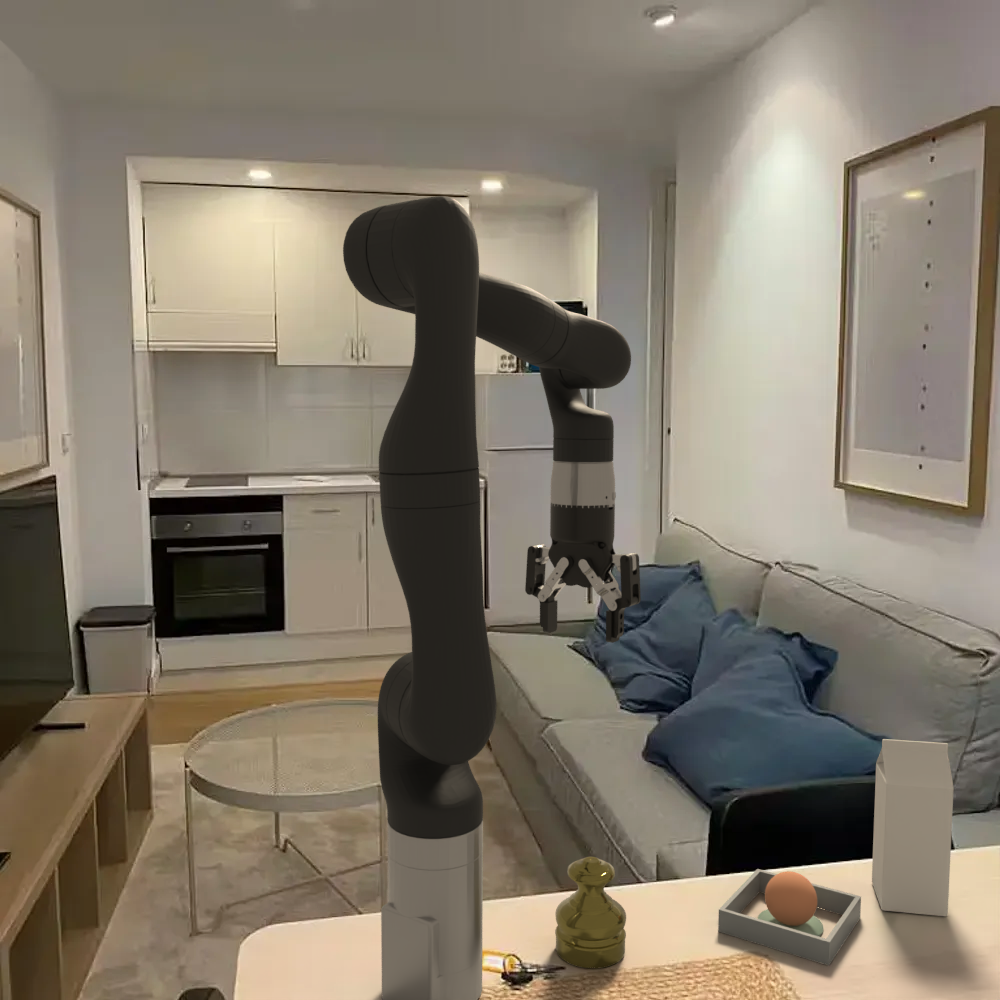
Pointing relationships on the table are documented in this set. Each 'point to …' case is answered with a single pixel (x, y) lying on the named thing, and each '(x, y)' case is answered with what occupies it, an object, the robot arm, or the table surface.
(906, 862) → the milk carton
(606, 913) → the olive green chess piece
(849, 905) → the grey soap tray
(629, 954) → the table surface
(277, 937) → the table surface
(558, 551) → the robot arm
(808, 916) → the ball
